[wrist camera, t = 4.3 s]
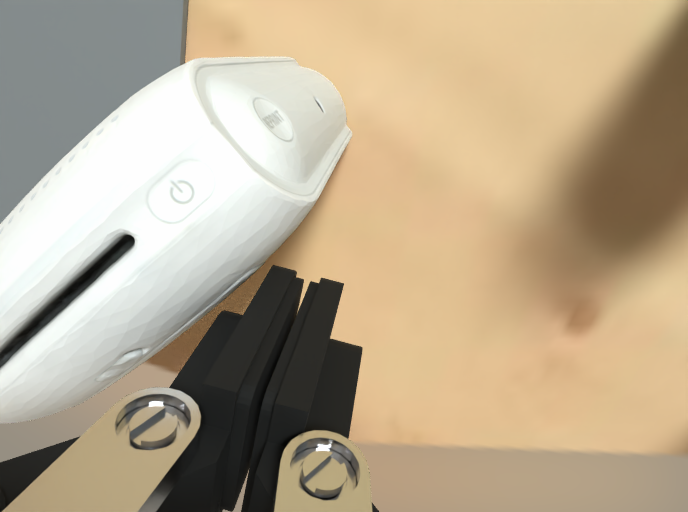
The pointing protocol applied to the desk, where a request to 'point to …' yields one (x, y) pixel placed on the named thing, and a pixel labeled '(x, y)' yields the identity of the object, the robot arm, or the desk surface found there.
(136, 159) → the photo printer
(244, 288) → the desk surface
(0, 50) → the felt mat
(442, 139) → the desk surface
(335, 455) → the robot arm
